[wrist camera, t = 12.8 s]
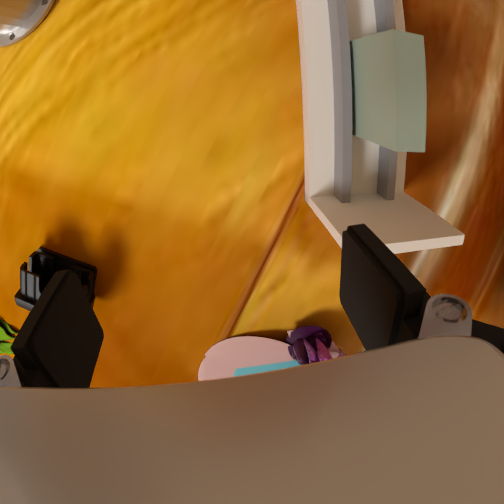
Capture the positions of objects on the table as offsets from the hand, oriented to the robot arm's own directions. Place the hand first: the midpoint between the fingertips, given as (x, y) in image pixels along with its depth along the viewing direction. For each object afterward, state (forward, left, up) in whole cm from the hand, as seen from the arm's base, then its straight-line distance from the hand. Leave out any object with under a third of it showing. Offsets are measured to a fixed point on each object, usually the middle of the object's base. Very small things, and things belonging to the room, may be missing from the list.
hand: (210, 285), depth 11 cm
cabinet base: (-6, +16, -25) cm, 30 cm away
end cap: (+14, -22, -26) cm, 37 cm away
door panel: (-6, +16, -23) cm, 29 cm away
